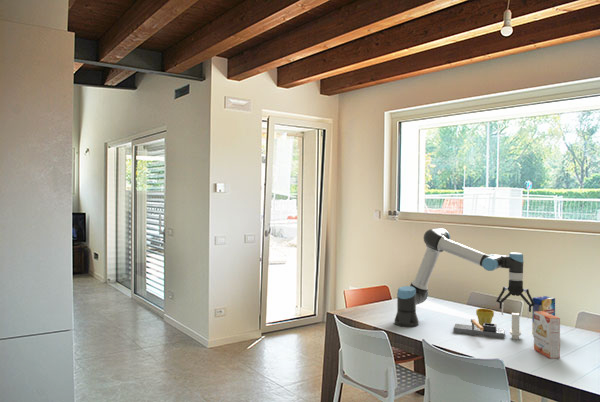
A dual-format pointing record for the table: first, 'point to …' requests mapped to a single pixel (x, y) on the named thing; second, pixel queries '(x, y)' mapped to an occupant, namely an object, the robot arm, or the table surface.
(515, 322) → the plug
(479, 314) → the plant pot
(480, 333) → the power strip
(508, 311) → the table surface
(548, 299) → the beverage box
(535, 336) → the cracker box
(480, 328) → the orange rectangular bar
